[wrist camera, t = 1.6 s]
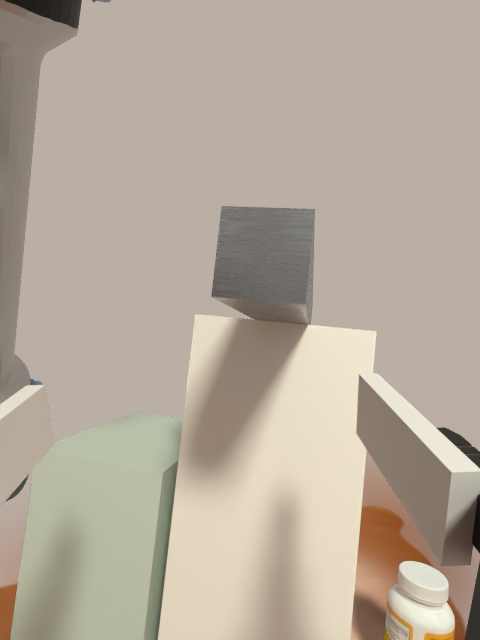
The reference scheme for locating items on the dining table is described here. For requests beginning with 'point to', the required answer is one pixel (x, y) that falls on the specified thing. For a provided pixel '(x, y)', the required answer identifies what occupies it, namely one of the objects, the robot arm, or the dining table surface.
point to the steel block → (266, 263)
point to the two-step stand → (209, 501)
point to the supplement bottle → (419, 605)
